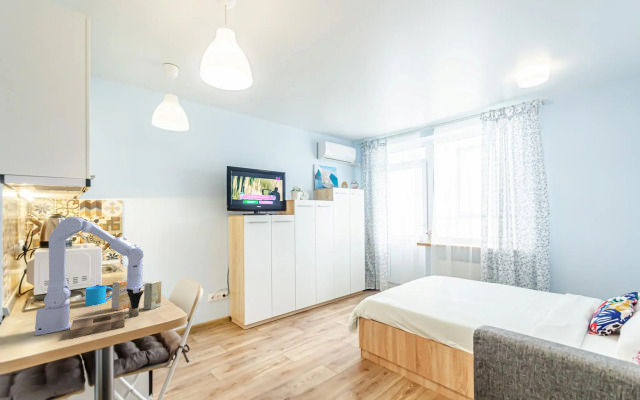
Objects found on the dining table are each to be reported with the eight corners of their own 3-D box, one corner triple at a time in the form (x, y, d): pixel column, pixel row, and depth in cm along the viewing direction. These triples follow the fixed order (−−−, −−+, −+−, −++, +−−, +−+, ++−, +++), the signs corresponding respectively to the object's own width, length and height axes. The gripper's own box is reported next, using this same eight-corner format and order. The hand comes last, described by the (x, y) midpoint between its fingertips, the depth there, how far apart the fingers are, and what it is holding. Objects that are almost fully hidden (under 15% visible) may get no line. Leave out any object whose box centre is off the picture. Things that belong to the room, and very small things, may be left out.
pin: (129, 318, 119) (129, 299, 120) (128, 315, 122) (129, 297, 122) (139, 316, 121) (139, 297, 122) (138, 313, 124) (138, 295, 125)
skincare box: (150, 310, 129) (151, 283, 130) (143, 309, 130) (143, 283, 131) (161, 305, 135) (162, 280, 136) (153, 305, 136) (154, 280, 137)
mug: (87, 307, 135) (88, 290, 136) (83, 304, 140) (83, 287, 141) (116, 300, 145) (117, 285, 145) (111, 298, 150) (111, 283, 150)
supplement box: (118, 311, 128) (119, 282, 129) (111, 310, 130) (112, 281, 131) (135, 305, 136) (136, 278, 137) (128, 304, 138) (129, 278, 139)
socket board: (69, 338, 99) (70, 329, 99) (72, 328, 108) (73, 320, 109) (124, 327, 109) (124, 319, 109) (122, 318, 118) (123, 311, 118)
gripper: (147, 276, 119) (146, 308, 119) (143, 271, 131) (143, 300, 130) (127, 278, 115) (126, 312, 114) (125, 273, 127) (124, 303, 126)
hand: (134, 306), depth 122 cm, fingers open, 7 cm apart
